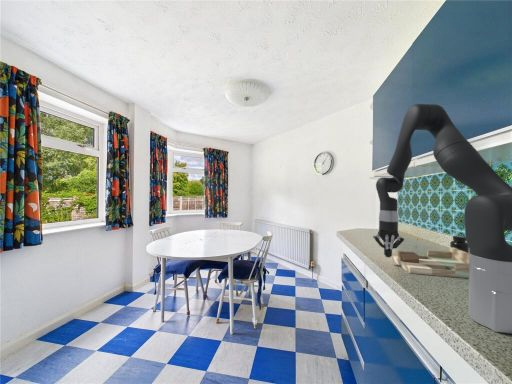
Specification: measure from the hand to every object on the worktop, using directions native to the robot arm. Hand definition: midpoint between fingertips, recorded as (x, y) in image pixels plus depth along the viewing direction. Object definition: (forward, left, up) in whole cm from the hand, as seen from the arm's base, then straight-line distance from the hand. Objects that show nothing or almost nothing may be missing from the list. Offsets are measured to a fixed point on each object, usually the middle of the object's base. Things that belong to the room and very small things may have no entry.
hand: (387, 256), depth 99 cm
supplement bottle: (+16, -38, -4) cm, 41 cm away
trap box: (0, -18, -4) cm, 19 cm away
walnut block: (0, -8, -1) cm, 8 cm away
